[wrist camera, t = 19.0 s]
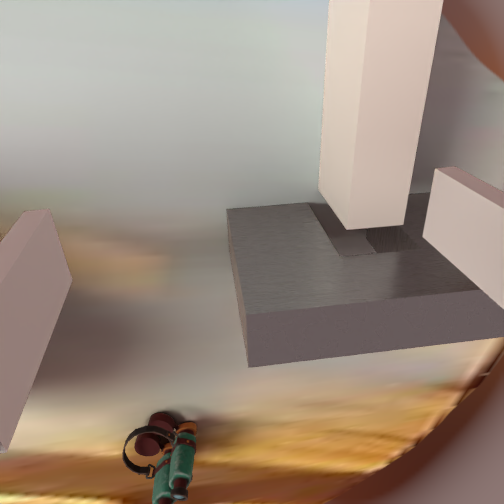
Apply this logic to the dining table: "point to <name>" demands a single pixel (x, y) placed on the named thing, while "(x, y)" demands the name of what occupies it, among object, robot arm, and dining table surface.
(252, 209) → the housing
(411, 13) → the grey rectangular block
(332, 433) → the dining table surface
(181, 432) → the binoculars
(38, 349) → the robot arm
